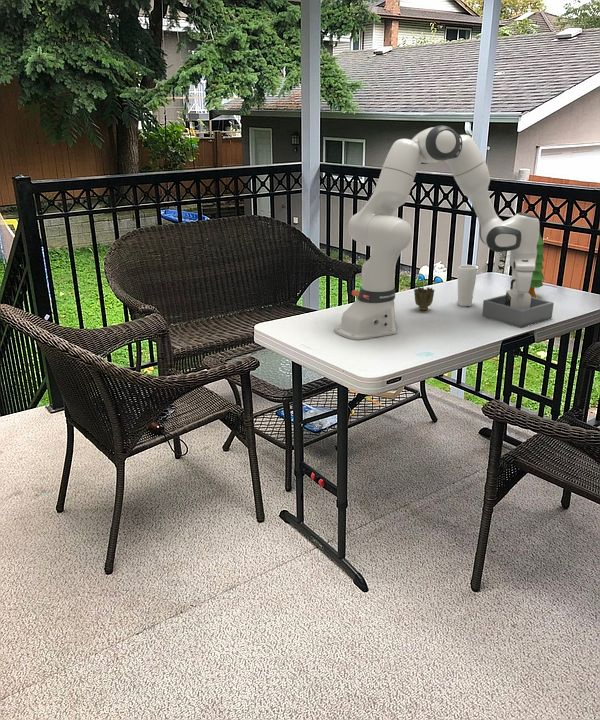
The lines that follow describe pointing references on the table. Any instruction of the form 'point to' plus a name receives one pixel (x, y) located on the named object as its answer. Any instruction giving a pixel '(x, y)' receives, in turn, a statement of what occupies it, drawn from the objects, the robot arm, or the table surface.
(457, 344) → the table surface
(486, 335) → the table surface
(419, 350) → the table surface
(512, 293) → the medicine bottle
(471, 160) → the robot arm
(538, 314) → the bin
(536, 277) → the decorative tree
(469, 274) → the drinking glass
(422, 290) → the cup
